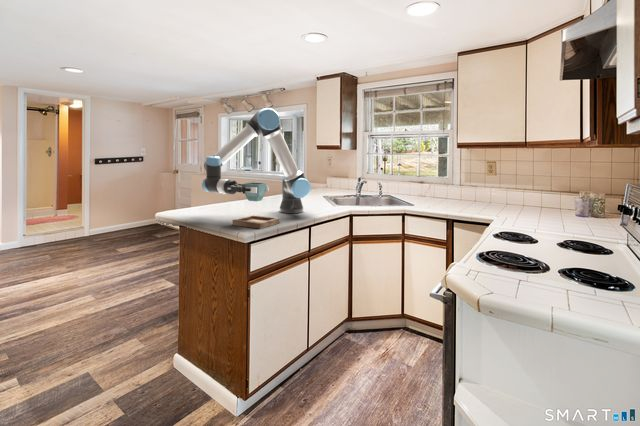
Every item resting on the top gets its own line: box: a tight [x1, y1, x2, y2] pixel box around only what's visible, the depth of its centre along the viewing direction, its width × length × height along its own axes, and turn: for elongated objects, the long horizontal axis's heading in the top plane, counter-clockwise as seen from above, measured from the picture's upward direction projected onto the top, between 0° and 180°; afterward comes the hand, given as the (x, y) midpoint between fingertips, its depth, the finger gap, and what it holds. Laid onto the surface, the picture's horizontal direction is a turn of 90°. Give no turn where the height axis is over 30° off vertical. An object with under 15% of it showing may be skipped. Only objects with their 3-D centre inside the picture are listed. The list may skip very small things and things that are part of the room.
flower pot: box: [243, 181, 267, 202], centre depth 178 cm, size 9×9×9 cm
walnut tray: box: [231, 214, 280, 230], centre depth 181 cm, size 17×17×2 cm
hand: (262, 189), depth 176 cm, fingers closed on flower pot, 9 cm apart
